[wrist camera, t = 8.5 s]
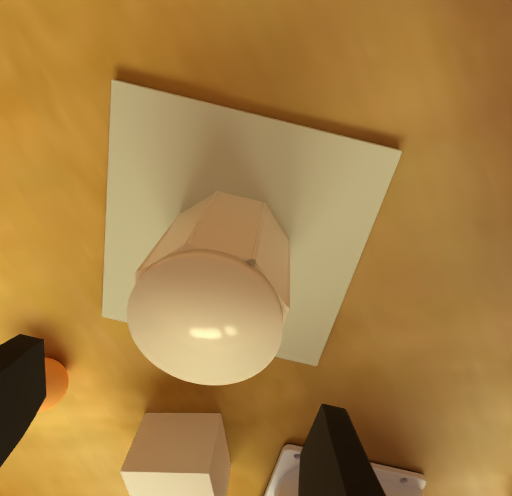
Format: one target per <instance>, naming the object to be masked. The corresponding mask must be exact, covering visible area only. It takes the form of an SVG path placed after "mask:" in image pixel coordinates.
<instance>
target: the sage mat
mask: <svg viewBox="0 0 512 496" xmlns="http://www.w3.org/2000/svg"><path fill="white" fill-rule="evenodd" d="M401 154H402V151H401V150H400V149H396V148H392V147H388V146H384V145H380V144H376V143H372V142H367V141H363V140H359V139H355V138H351V137H347V136H343V135H339V134H335V133H331V132H327V131H323V130H319V129H315V128H311V127H307V126H303V125H299V124H294V123H290V122H286V121H282V120H278V119H274V118H270V117H266V116H262V115H258V114H254V113H250V112H246V111H242V110H238V109H234V108H230V107H226V106H221V105H217V104H213V103H209V102H205V101H201V100H197V99H193V98H189V97H185V96H181V95H177V94H173V93H169V92H165V91H161V90H157V89H152V88H148V87H144V86H140V85H136V84H132V83H128V82H124V81H120V80H116V79H115V80H112V81H111V105H110V130H109V154H108V179H107V203H106V228H105V253H104V277H103V302H102V317H105V318H110V319H114V320H118V321H123V322H127V305H128V300H129V297H130V294H131V292H132V290H133V288H134V287H135V278H136V275H135V272H136V271H137V269H138V268H139V267H140V265H141V264H142V263H143V261H144V260H145V259H146V257H147V256H148V255H149V253H150V252H151V251H152V249H153V248H154V247H155V245H156V244H157V243H158V241H159V240H160V239H161V237H162V236H163V235H164V233H165V232H166V231H167V229H168V228H169V227H170V225H171V224H172V223H173V221H174V220H175V219H176V217H177V216H178V215H179V213H182V212H184V211H186V210H187V209H189V208H191V207H192V206H194V205H196V204H197V203H199V202H200V201H202V200H204V199H205V198H207V197H209V196H210V195H212V194H214V193H215V192H216V191H220V192H224V193H228V194H232V195H236V196H240V197H245V198H249V199H253V200H257V201H261V202H263V201H264V202H265V203H267V204H266V205H267V206H268V208H269V209H270V211H271V213H272V214H273V216H274V217H275V219H276V220H277V222H278V224H279V225H280V227H281V228H282V230H283V231H284V233H285V234H286V236H287V238H288V239H290V311H288V313H287V316H286V319H285V322H284V325H283V332H282V340H281V344H280V347H279V349H278V352H277V354H276V355H275V357H278V358H282V359H286V360H291V361H295V362H299V363H304V364H308V365H312V366H317V364H318V362H319V359H320V357H321V354H322V352H323V349H324V347H325V344H326V342H327V339H328V337H329V334H330V332H331V329H332V327H333V324H334V322H335V319H336V317H337V314H338V312H339V309H340V307H341V304H342V302H343V299H344V297H345V294H346V291H347V289H348V286H349V284H350V281H351V279H352V276H353V274H354V271H355V269H356V266H357V264H358V261H359V259H360V256H361V254H362V251H363V249H364V246H365V244H366V241H367V239H368V236H369V234H370V231H371V229H372V226H373V224H374V221H375V219H376V216H377V214H378V211H379V209H380V206H381V204H382V201H383V199H384V196H385V194H386V191H387V189H388V186H389V184H390V181H391V179H392V176H393V174H394V171H395V169H396V166H397V164H398V161H399V159H400V156H401ZM127 323H128V322H127Z"/></svg>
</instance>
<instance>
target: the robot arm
mask: <svg viewBox="0 0 512 496" xmlns="http://www.w3.org/2000/svg"><path fill="white" fill-rule="evenodd" d="M46 396H47V394H46V373H45V353H44V339H39V338H35V337H31V336H26V335H22V334H19V335H17V336H16V337H14V338H12V339H10V340H8V341H7V342H5V343H3V344H1V345H0V467H1V466H2V464H3V463H4V461H5V460H6V459H7V457H8V456H9V455H10V453H11V452H12V451H13V449H14V448H15V447H16V445H17V444H18V442H19V441H20V440H21V438H22V437H23V435H24V434H25V432H26V430H27V429H28V427H29V426H30V424H31V422H32V421H33V419H34V417H35V416H36V414H37V412H38V410H39V409H40V407H41V405H42V403H43V402H44V400H45V398H46ZM425 485H426V479H425V476H424V475H422V474H419V473H415V472H411V471H406V470H402V469H397V468H393V467H389V466H384V465H380V464H375V463H371V462H370V461H369V459H368V457H367V455H366V453H365V451H364V448H363V446H362V444H361V442H360V440H359V437H358V435H357V433H356V431H355V428H354V426H353V424H352V422H351V419H350V417H349V415H348V413H347V411H346V410H345V409H343V408H339V407H334V406H330V405H326V404H322V405H321V407H320V409H319V412H318V414H317V416H316V418H315V421H314V423H313V425H312V428H311V430H310V432H309V435H308V437H307V439H306V441H305V444H304V446H303V447H300V446H296V445H291V444H288V445H285V446H284V447H283V448H282V451H281V453H280V456H279V458H278V461H277V463H276V466H275V468H274V471H273V473H272V476H271V479H270V481H269V484H268V486H267V489H266V491H265V494H264V496H423V492H422V489H423V488H424V487H425Z"/></svg>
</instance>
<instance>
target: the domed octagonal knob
mask: <svg viewBox="0 0 512 496" xmlns="http://www.w3.org/2000/svg"><path fill="white" fill-rule="evenodd" d="M266 204H267V203H265V202H264V201H263V202H261V201H257V200H253V199H249V198H245V197H240V196H236V195H232V194H228V193H224V192H220V191H216V192H215V193H214V194H212V195H210V196H209V197H207V198H205V199H204V200H202V201H200V202H199V203H197V204H196V205H194V206H192V207H191V208H189V209H187V210H186V211H184V212H182V213H179V215H178V216H177V217H176V219H175V220H174V221H173V223H172V224H171V225H170V227H169V228H168V229H167V231H166V232H165V233H164V235H163V236H162V237H161V239H160V240H159V241H158V243H157V244H156V245H155V247H154V248H153V249H152V251H151V252H150V253H149V255H148V256H147V257H146V259H145V260H144V261H143V263H142V264H141V265H140V267H139V268H138V269H137V271H136V272H135V275H136V278H135V287H134V288H133V290H132V292H131V294H130V297H129V300H128V305H127V322H128V327H129V330H130V334H131V336H132V338H133V340H134V342H135V344H136V345H137V347H138V348H139V350H140V351H141V352H142V353H143V354H144V356H145V357H146V358H147V359H148V360H149V361H151V362H152V363H153V364H154V365H155V366H157V367H158V368H160V369H161V370H163V371H164V372H166V373H168V374H170V375H172V376H174V377H176V378H179V379H181V380H184V381H188V382H191V383H196V384H201V385H227V384H233V383H237V382H240V381H243V380H246V379H248V378H250V377H253V376H254V375H256V374H258V373H259V372H261V371H262V370H263V369H264V368H265V367H267V366H268V365H269V363H270V362H271V361H272V360H273V358H274V357H275V355H276V354H277V352H278V349H279V347H280V344H281V340H282V332H283V325H284V322H285V319H286V316H287V313H288V311H290V239H288V238H287V236H286V234H285V233H284V231H283V230H282V228H281V227H280V225H279V224H278V222H277V220H276V219H275V217H274V216H273V214H272V213H271V211H270V209H269V208H268V206H267V205H266Z"/></svg>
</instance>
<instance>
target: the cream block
mask: <svg viewBox="0 0 512 496" xmlns="http://www.w3.org/2000/svg"><path fill="white" fill-rule="evenodd" d="M230 468H231V462H230V457H229V451H228V446H227V441H226V436H225V430H224V425H223V420H222V415H221V413H145V414H144V416H143V419H142V421H141V423H140V426H139V428H138V430H137V433H136V435H135V438H134V440H133V442H132V445H131V447H130V449H129V452H128V454H127V457H126V459H125V461H124V464H123V466H122V468H121V471H120V472H121V475H122V477H123V480H124V482H125V485H126V487H127V490H128V492H129V495H130V496H226V495H227V488H228V481H229V475H230Z"/></svg>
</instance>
